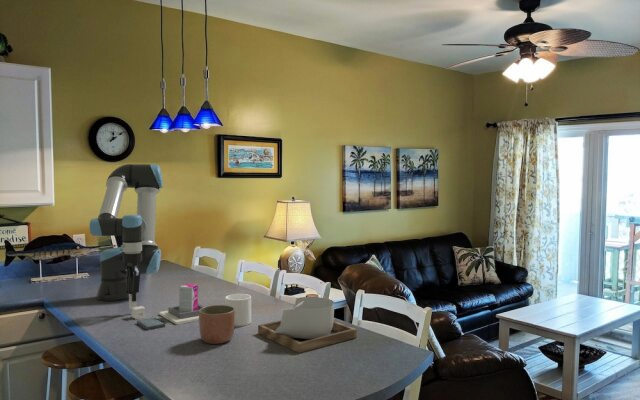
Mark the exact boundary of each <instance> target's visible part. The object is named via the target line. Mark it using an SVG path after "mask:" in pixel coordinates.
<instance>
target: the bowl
mask: <svg viewBox="0 0 640 400" xmlns="http://www.w3.org/2000/svg"><path fill="white" fill-rule="evenodd" d="M334 316H335V301H334V300H332V299H329V298H324V297H321V296H319V297H318V296H317V297H316V296H303V297H296V299H295V302H294V308H292V309H285V310H283V312H282V316H281V319H280V321H281V324H280V326H279V327H278V328H277V329H276V330H275V333H279V334H283V335H285V336H287V337H290V338H292V339H299V340H300V339H303V340H310V339H314V338H318V337H322V336H326V335H330V334H331V332H332V331H333V330H332V328H333V322H334V321H335V317H334Z"/></svg>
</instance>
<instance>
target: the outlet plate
mask: <svg viewBox="0 0 640 400" xmlns="http://www.w3.org/2000/svg"><path fill="white" fill-rule="evenodd" d="M203 307H205V306H204V305H202V304H200V303H198V310H196V311H191V312H185V313H181V312H179V305H175V306H171V307H170V306H169V307H168V308H167V309H168V310H162V311H159V312H158V314H159V316H161V317H163V318H165V319H166V320H168V321H170V322H171V323H173V324H175V325H182V324H187V323H193V322H199V309H201V308H203Z"/></svg>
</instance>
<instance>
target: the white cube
mask: <svg viewBox="0 0 640 400" xmlns="http://www.w3.org/2000/svg"><path fill="white" fill-rule="evenodd" d="M146 311H147V309H146V307H144V306H143V305H139V306H137V307H132V309H131V318H133V319H134V318H135V319H134V320H140V319H144V318H145V317H146V315H147V313H146ZM145 319H146V318H145Z"/></svg>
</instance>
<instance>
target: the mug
mask: <svg viewBox="0 0 640 400" xmlns="http://www.w3.org/2000/svg"><path fill="white" fill-rule="evenodd" d="M224 300H225V301H224V302H225V303H224V305H227V306H232V307H234V308H235V323H234V328H235V327H246V326H249V325H250V324H251V323H252V295H250V294H247V293H246V294H245V293H232V294H228V295H226V296H225V297H224Z"/></svg>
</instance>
